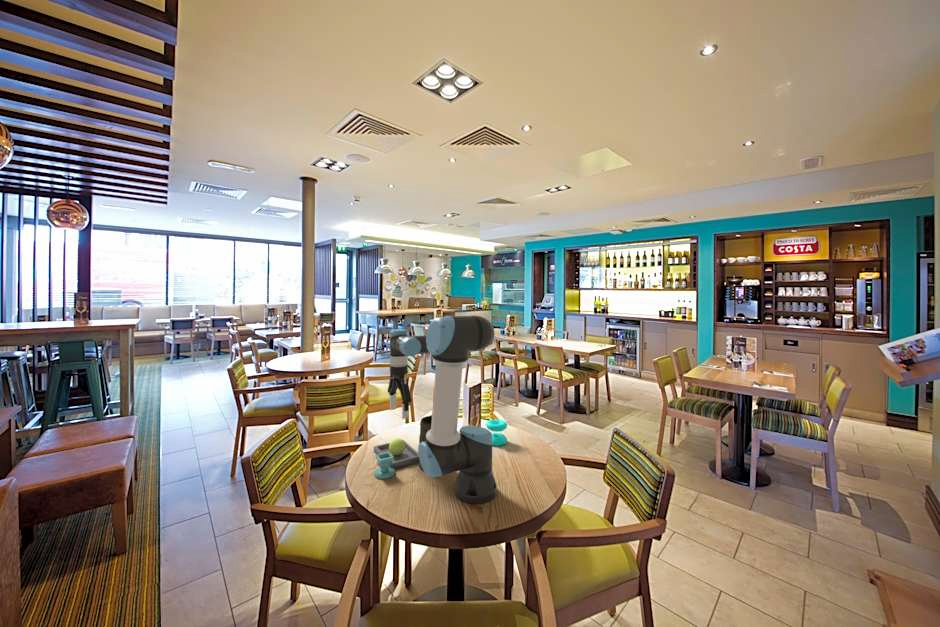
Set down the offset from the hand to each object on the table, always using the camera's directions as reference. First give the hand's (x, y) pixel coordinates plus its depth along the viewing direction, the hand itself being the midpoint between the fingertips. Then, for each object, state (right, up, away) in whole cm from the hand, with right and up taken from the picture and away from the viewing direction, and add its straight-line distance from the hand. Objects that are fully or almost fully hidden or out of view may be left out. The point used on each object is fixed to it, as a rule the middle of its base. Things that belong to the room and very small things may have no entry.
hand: (399, 413), depth 159 cm
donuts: (+44, -19, +17) cm, 50 cm away
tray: (-1, -19, +1) cm, 19 cm away
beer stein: (+17, -20, -9) cm, 28 cm away
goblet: (-3, -20, -15) cm, 25 cm away
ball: (-1, -15, +1) cm, 15 cm away
